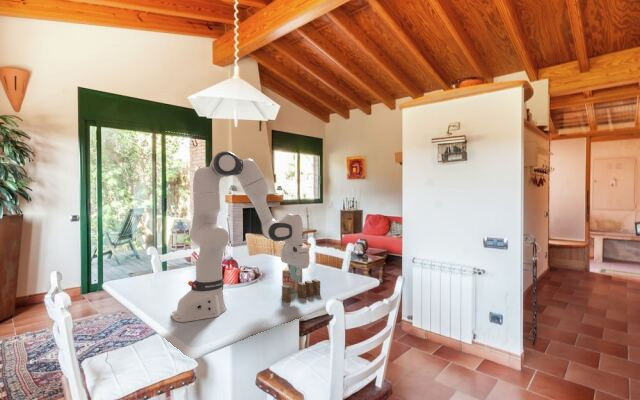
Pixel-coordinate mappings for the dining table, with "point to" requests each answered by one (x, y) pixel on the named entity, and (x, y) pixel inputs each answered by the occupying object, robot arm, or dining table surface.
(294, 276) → the teal domino
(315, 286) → the domino
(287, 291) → the domino
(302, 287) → the domino
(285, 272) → the printed cardboard box
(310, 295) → the domino
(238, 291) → the dining table surface
